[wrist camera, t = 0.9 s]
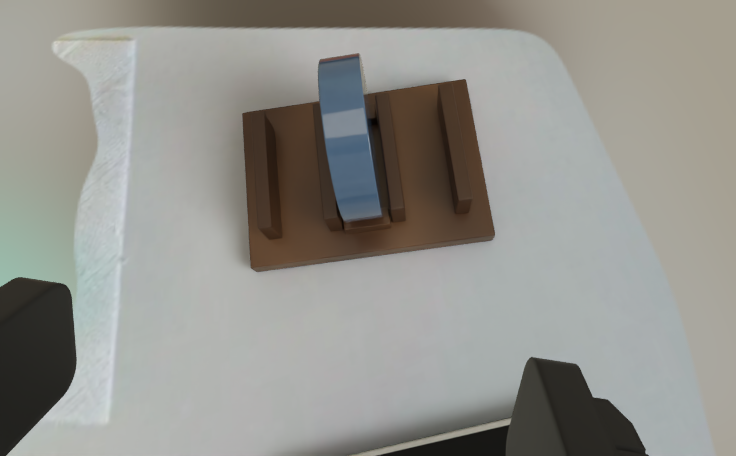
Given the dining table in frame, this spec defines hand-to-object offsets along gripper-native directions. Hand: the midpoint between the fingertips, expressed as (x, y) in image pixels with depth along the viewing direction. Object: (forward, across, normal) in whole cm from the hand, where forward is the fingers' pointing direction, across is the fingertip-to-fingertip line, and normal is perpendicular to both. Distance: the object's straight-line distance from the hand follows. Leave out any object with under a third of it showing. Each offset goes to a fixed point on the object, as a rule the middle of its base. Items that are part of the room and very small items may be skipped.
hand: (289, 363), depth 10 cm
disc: (+20, +1, 0) cm, 20 cm away
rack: (+25, +1, +4) cm, 25 cm away
